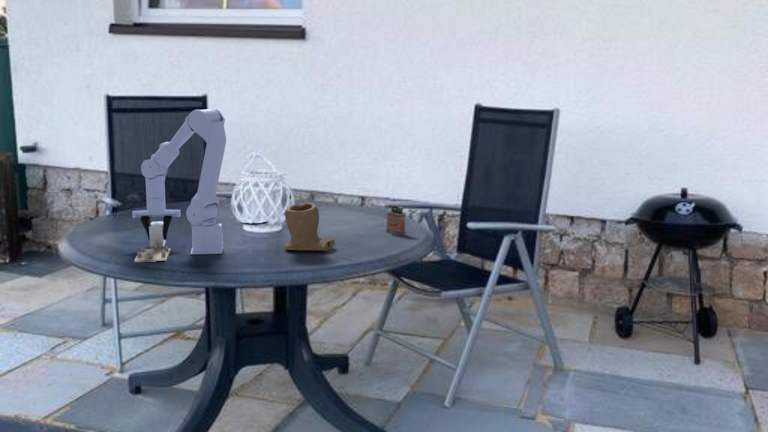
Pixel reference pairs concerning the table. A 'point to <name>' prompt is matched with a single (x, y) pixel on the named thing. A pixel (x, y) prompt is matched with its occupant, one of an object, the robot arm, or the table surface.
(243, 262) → the table surface
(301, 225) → the brown hollow piece
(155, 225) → the block
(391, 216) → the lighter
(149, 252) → the birch pin tray
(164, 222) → the robot arm
